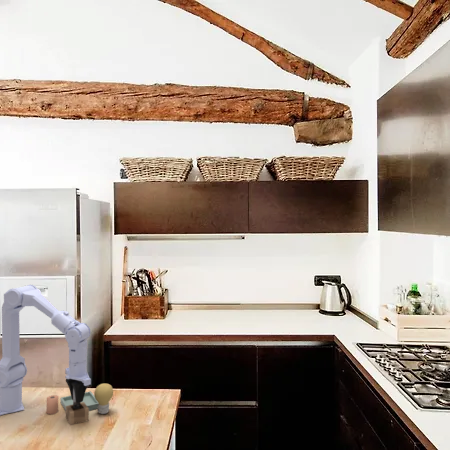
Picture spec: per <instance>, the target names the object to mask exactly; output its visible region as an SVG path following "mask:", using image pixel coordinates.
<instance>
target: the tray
mask: <svg viewBox="0 0 450 450" xmlns="http://www.w3.org/2000/svg"><path fill="white" fill-rule="evenodd" d="M59 400H60V404H61V406H62V408H63V409H64V411H65V412H66V406H68V405H73V400H72V397H71V395H67V396H63V397H60V399H59ZM82 402H84V403H85V404H86V405H87V407H88V408H89V412H90V411H93V410H98V404H99V403H98V402H97V400H96V399H95V396H94V394H93V392H92V391H90V390H89V391H85V395H84V399H83V401H82Z"/></svg>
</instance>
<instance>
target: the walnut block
mask: <svg viewBox="0 0 450 450" xmlns="http://www.w3.org/2000/svg"><path fill="white" fill-rule="evenodd" d="M89 412H90V411H89V408H88V407H87V405H86V404H85V403H84V402H81V407H80V408H79V409H74V408H73V405H68V406H66V411H65V419H66V420H67V422H68V424H69V426H72V425H76V424H80V423H84V422H88V421H89V419H90V418H89V417H90V416H89V414H90V413H89Z"/></svg>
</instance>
